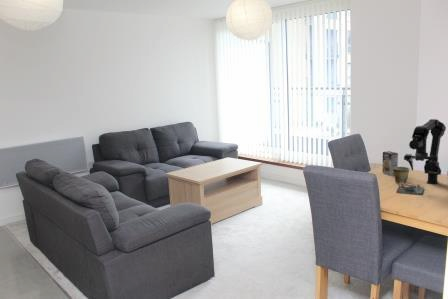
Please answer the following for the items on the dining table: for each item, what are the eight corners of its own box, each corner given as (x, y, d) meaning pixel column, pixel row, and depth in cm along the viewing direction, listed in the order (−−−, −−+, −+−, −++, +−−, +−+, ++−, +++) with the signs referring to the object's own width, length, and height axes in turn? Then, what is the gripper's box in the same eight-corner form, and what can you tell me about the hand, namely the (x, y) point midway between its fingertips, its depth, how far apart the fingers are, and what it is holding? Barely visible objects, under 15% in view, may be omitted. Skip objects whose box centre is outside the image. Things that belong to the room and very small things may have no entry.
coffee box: (382, 172, 291) (382, 151, 289) (389, 171, 293) (389, 150, 290) (390, 175, 283) (390, 153, 280) (397, 174, 285) (398, 152, 282)
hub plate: (399, 186, 254) (399, 182, 253) (423, 188, 246) (423, 184, 246) (396, 192, 242) (396, 187, 242) (421, 194, 235) (421, 190, 234)
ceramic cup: (410, 184, 257) (411, 169, 255) (394, 184, 259) (394, 170, 257) (405, 179, 270) (406, 165, 268) (390, 179, 272) (390, 165, 270)
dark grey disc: (418, 187, 242) (419, 180, 241) (409, 189, 240) (409, 181, 239) (407, 184, 250) (407, 177, 250) (398, 185, 249) (398, 178, 248)
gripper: (402, 148, 240) (402, 173, 243) (437, 149, 230) (436, 175, 233) (405, 145, 249) (405, 168, 252) (438, 146, 239) (437, 170, 242)
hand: (420, 171), depth 245 cm, fingers open, 9 cm apart
